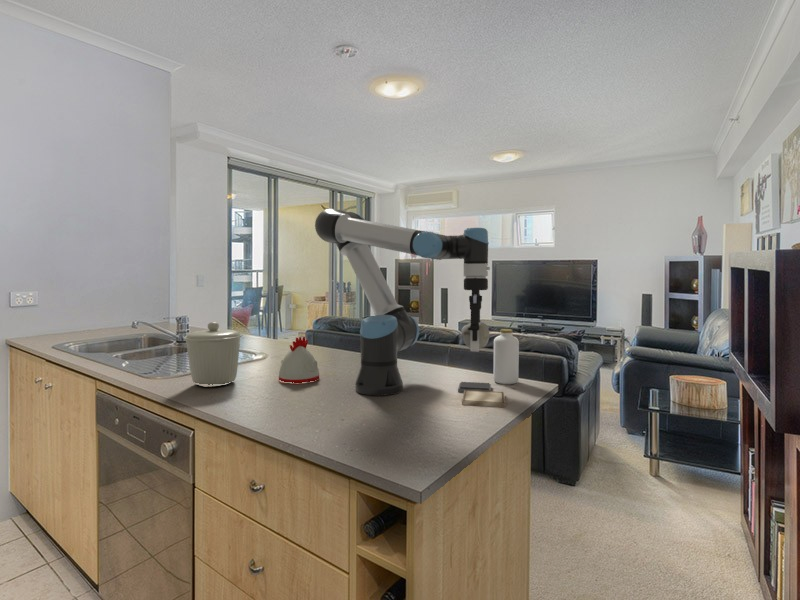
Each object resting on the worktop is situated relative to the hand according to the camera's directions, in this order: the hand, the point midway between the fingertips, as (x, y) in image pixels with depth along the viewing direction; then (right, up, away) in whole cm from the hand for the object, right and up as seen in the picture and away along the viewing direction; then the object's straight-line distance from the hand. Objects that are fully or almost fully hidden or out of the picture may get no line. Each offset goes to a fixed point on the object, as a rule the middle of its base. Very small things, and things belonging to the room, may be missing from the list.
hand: (475, 348), depth 142 cm
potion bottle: (+12, -13, +11) cm, 21 cm away
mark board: (+1, -14, -10) cm, 18 cm away
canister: (-86, -13, +8) cm, 88 cm away
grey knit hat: (-59, -13, +15) cm, 63 cm away
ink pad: (0, -13, +1) cm, 13 cm away
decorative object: (0, 0, 0) cm, 0 cm away
